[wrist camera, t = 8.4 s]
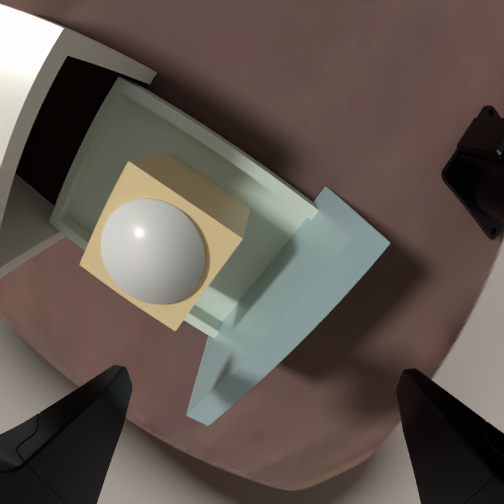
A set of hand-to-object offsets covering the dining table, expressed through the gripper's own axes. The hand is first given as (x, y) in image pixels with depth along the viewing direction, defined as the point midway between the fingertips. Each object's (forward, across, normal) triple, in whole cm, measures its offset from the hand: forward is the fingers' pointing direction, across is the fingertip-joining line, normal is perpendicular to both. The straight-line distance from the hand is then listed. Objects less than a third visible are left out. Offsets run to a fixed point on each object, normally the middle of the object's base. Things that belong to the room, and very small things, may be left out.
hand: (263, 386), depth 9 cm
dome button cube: (+8, +4, -3) cm, 10 cm away
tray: (+10, +5, -3) cm, 11 cm away
